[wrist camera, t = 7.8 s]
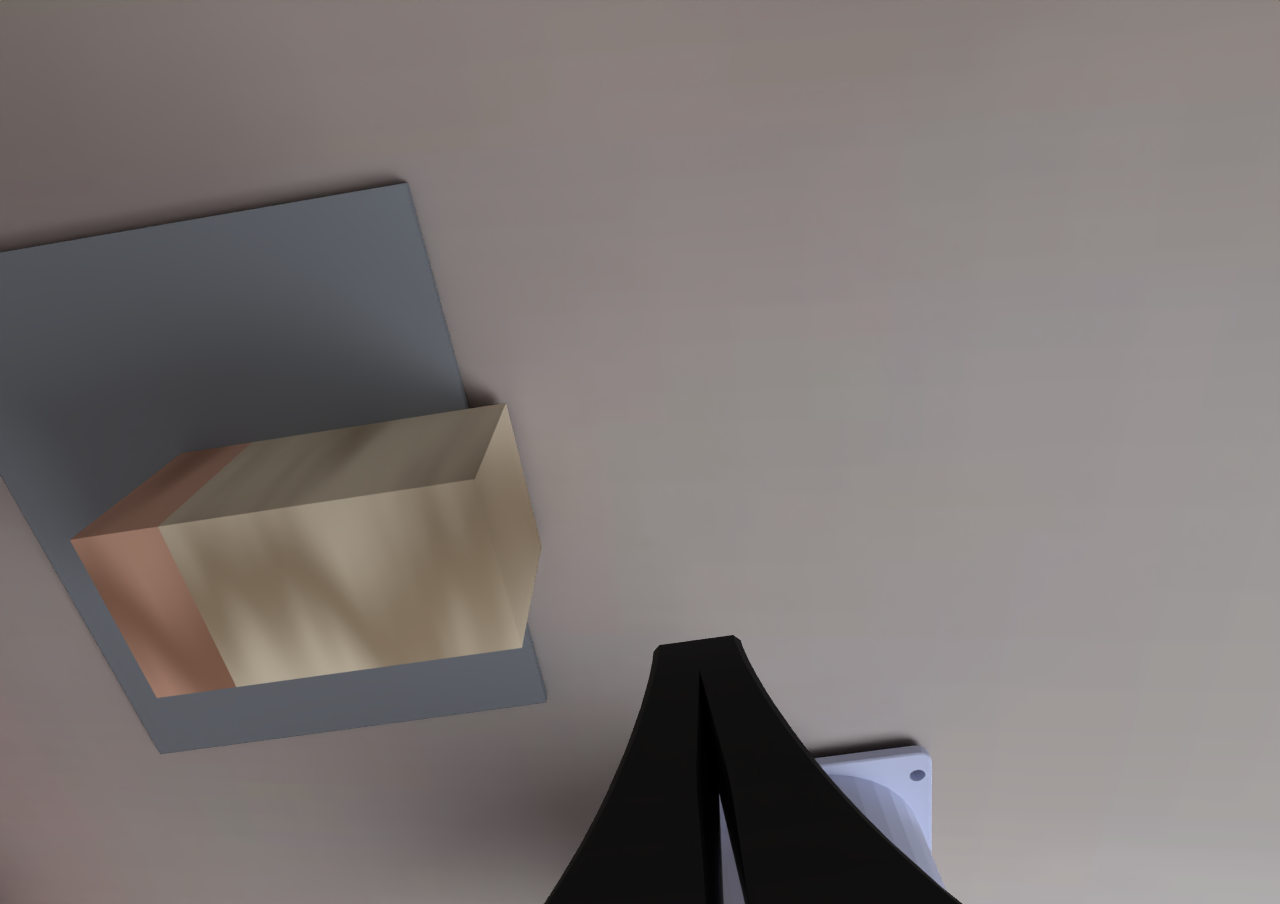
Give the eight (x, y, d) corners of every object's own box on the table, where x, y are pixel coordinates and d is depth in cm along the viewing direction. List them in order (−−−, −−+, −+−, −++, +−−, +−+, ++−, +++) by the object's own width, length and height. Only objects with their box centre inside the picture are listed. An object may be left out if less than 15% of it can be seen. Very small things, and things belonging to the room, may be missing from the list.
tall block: (521, 647, 18) (157, 697, 18) (541, 546, 22) (243, 589, 22) (474, 479, 16) (69, 540, 16) (506, 402, 20) (181, 453, 20)
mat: (547, 695, 25) (545, 702, 24) (165, 747, 25) (160, 754, 25) (407, 182, 18) (404, 183, 18) (-105, 270, 19) (-115, 272, 18)
